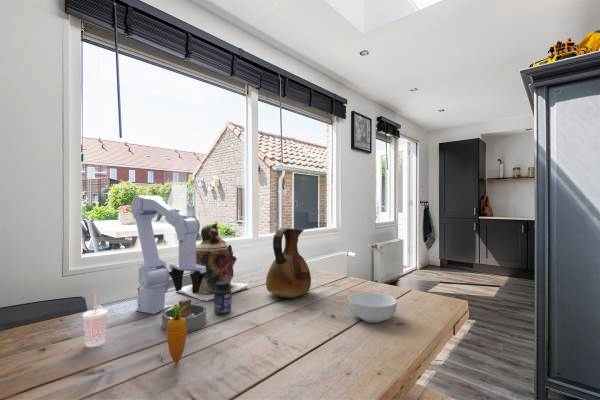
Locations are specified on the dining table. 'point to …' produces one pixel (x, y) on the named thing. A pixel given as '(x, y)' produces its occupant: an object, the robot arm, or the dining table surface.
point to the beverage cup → (95, 326)
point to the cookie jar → (213, 264)
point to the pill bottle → (222, 298)
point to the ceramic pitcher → (288, 266)
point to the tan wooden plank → (187, 310)
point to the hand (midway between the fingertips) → (187, 291)
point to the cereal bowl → (372, 306)
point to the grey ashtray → (188, 317)
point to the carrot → (176, 333)
